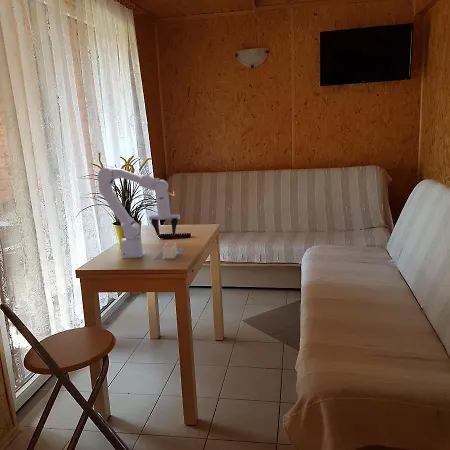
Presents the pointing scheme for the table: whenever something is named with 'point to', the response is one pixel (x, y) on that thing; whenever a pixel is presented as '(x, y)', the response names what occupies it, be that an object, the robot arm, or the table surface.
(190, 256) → the table surface
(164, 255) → the card box
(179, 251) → the mat
